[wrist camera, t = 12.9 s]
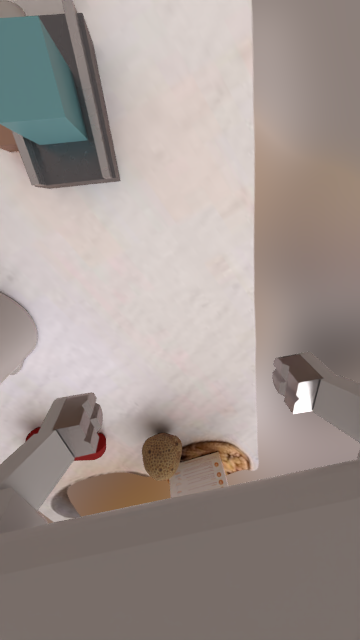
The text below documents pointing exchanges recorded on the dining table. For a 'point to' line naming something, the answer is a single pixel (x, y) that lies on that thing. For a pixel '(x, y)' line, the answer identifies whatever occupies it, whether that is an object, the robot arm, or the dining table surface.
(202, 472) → the coffeecake box
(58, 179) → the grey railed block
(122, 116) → the dining table surface
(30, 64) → the block
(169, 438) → the natural sponge
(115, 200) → the dining table surface
